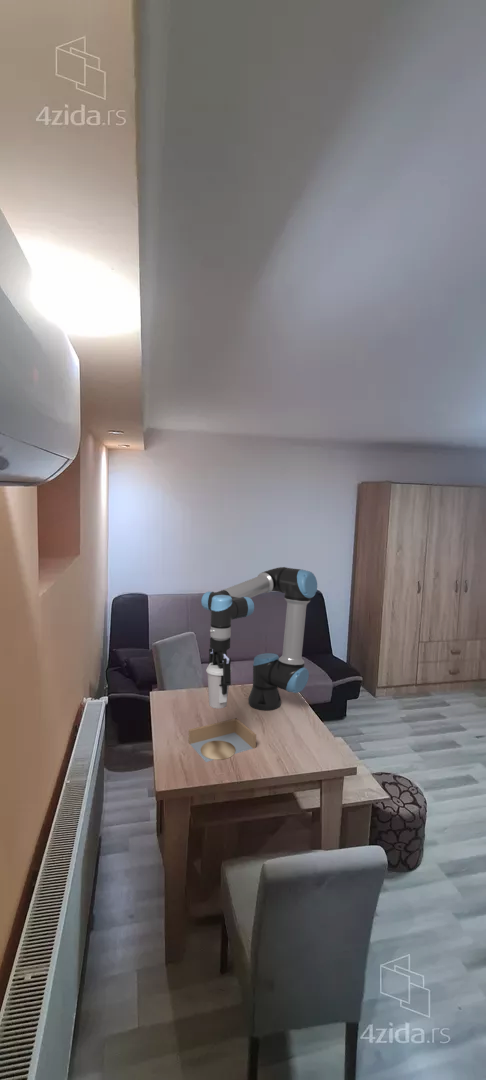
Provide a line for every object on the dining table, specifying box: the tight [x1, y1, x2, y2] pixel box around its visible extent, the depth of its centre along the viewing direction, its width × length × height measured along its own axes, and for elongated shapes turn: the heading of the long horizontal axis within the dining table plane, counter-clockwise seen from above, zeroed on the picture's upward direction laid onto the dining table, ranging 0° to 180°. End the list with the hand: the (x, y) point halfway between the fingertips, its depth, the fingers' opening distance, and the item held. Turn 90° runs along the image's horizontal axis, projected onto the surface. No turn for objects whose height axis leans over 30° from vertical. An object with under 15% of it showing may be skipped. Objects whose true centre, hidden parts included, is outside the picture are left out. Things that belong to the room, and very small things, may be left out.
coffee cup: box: [205, 663, 233, 709], centre depth 171 cm, size 10×10×15 cm
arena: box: [188, 717, 257, 763], centre depth 176 cm, size 21×15×6 cm
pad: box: [201, 741, 235, 761], centre depth 173 cm, size 13×13×1 cm
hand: (218, 697), depth 172 cm, fingers closed on coffee cup, 7 cm apart
